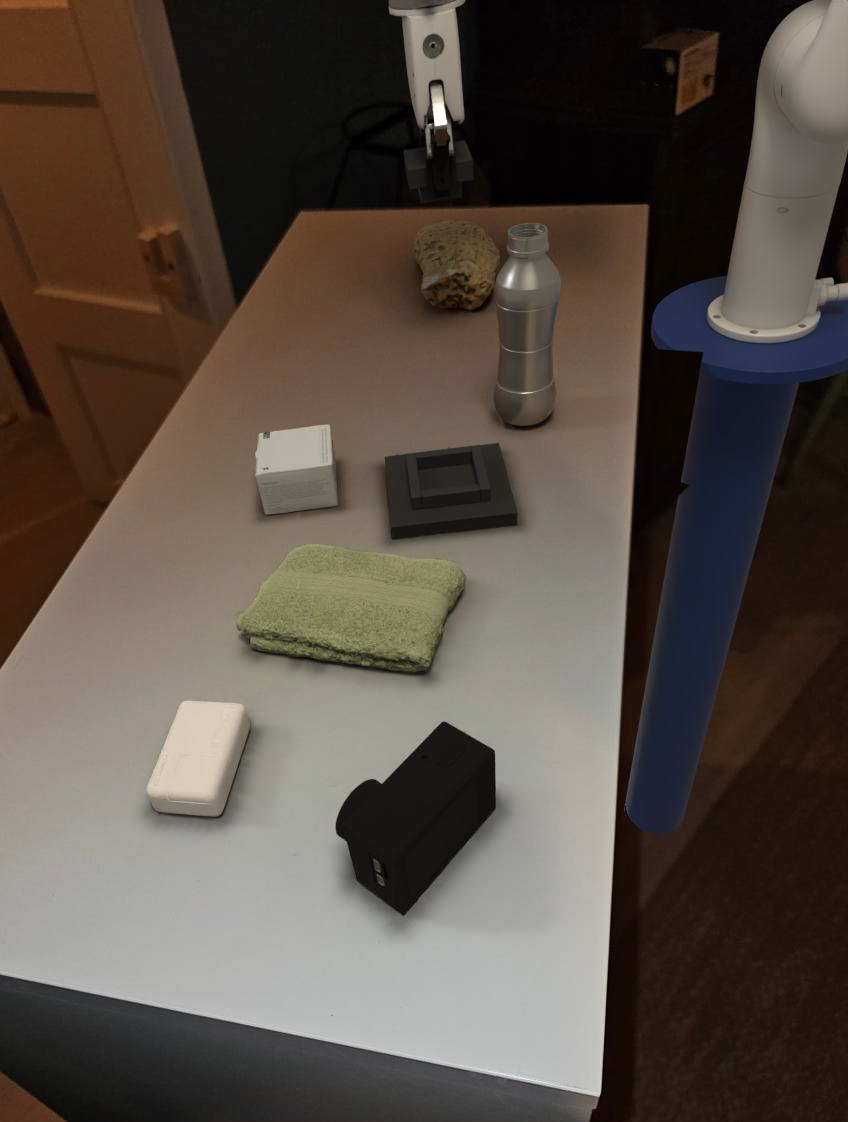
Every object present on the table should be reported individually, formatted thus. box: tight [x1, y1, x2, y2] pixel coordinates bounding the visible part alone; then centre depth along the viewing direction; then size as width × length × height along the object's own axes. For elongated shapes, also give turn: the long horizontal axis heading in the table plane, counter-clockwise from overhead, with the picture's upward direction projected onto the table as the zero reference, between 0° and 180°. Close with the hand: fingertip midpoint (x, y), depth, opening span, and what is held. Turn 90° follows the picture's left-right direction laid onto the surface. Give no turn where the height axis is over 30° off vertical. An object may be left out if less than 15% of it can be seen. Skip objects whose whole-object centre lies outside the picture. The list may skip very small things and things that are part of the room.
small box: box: [254, 423, 339, 515], centre depth 89 cm, size 8×8×5 cm
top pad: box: [403, 139, 475, 204], centre depth 96 cm, size 7×7×4 cm
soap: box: [145, 700, 251, 818], centre depth 65 cm, size 9×6×3 cm, turn 171°
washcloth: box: [235, 543, 467, 673], centre depth 75 cm, size 13×18×3 cm
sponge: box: [412, 218, 501, 311], centre depth 118 cm, size 13×8×20 cm
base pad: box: [384, 442, 518, 540], centre depth 86 cm, size 12×12×3 cm
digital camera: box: [335, 720, 497, 917], centre depth 57 cm, size 10×5×7 cm, turn 139°
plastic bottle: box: [492, 222, 563, 427], centre depth 88 cm, size 6×7×20 cm
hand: (439, 182), depth 96 cm, fingers closed on top pad, 7 cm apart
